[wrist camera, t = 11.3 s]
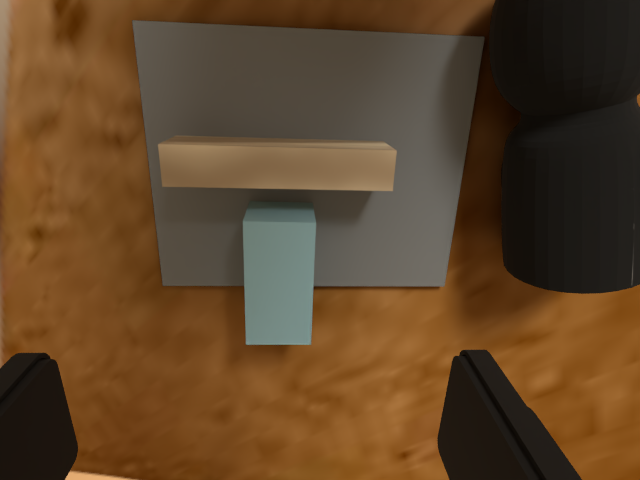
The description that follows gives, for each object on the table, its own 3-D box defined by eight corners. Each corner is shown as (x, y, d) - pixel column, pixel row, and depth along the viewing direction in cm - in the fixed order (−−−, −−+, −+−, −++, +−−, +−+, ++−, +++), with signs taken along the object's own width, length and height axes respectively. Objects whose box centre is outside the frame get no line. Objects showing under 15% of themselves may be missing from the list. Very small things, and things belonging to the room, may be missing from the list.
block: (242, 221, 25) (245, 344, 28) (316, 222, 26) (310, 344, 29) (249, 201, 29) (251, 310, 33) (312, 202, 30) (308, 311, 33)
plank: (176, 135, 27) (157, 144, 24) (383, 141, 28) (396, 150, 25) (179, 172, 28) (162, 186, 25) (380, 177, 29) (392, 191, 26)
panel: (135, 21, 25) (132, 20, 25) (480, 37, 27) (484, 36, 26) (164, 282, 32) (162, 285, 31) (441, 282, 33) (444, 286, 33)
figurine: (688, 259, 27) (732, -114, 20) (614, 324, 23) (635, -111, 16) (547, 231, 35) (541, -43, 27) (475, 276, 31) (445, -29, 23)
